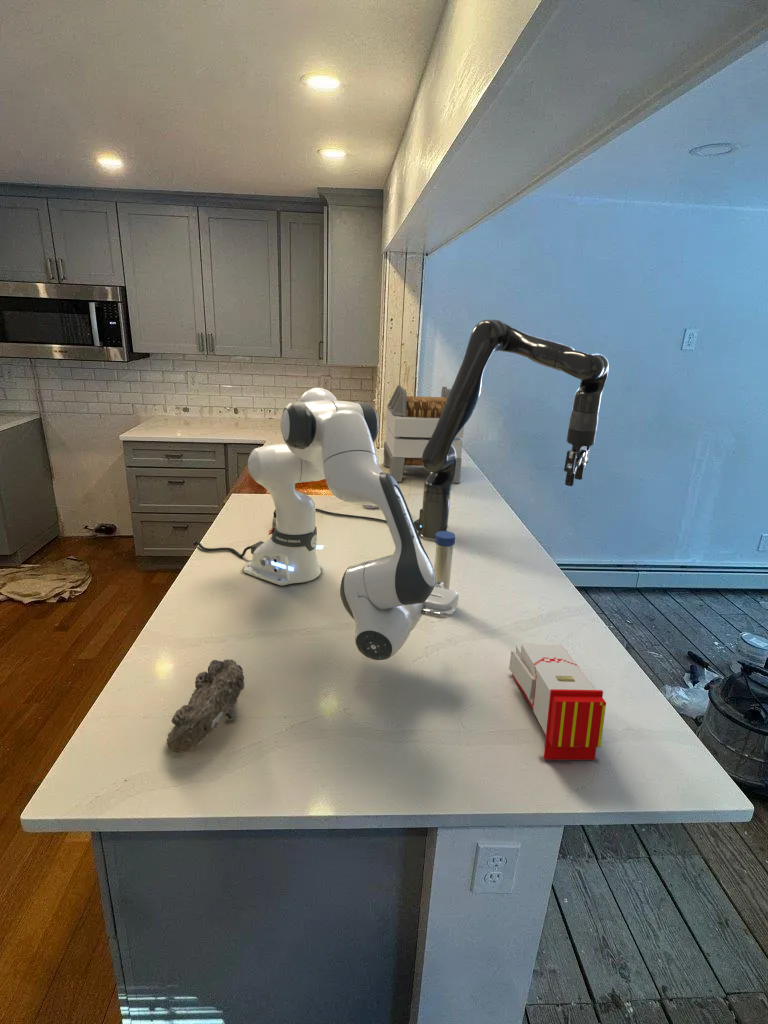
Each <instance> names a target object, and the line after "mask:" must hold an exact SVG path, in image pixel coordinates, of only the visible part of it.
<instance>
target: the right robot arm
mask: <svg viewBox="0 0 768 1024" xmlns="http://www.w3.org/2000/svg"><path fill="white" fill-rule="evenodd" d="M467 343H468V344H467V347H466V350H465V354H464V357H463V360H462V363H461V364H460V367H459V370H458V372H457V374H456V377H455V379H454V382H453V384H452V386H451V387H450V390H451V391H450V393H449V395H448V398H447V400H446V403H445V406H444V408H443V411H442V413H441V416H440V418H439V421H438V423H437V426H436V428H435V430H434V432H433V434H432V436H431V438H430V440H429V442H428V444H427V445H426V447H425V449H424V451H423V454H422V464H423V466H422V467H423V468H424V470H425V471H427V472H428V473H429V474H428V476H427V477H426V478H425V480H424V482H423V493H422V496H423V497H422V506H421V508H420V509H419V516H418V519H416V520H413V522H414V525H415V527H416V530H417V533H418V535H419V537H420V538H421V539H424V540H426V541H432V542H435V535H436V533H437V532H439V531H448V529H449V517H450V516H449V514H450V504H451V494H452V493H451V491H452V485H453V484H454V483H453V481H454V476H455V468H456V451H455V449H454V447H453V446H452V445H451V444H452V442H453V440H454V438H455V437H456V435H457V434H458V433H459V431H460V430H461V429H462V428H463V426H464V427H465V425H466V424H467V423H468V421H469V420H470V418H471V417H472V415H473V414H474V411H475V409H476V407H477V404H478V402H479V400H480V397H481V392H482V381H483V375H484V371H485V368H486V366H487V364H488V362H489V359H490V358H491V356H492V354H493V353H495V352H505V353H511V354H515V355H518V356H521V357H524V358H526V359H528V360H530V361H531V362H533V363H535V364H538V365H540V366H542V367H545V368H549V369H552V370H555V371H559V372H562V373H564V374H566V375H568V376H571V377H573V378H575V379H577V380H580V383H579V387H578V389H577V390H576V391H575V394H574V397H573V403H572V410H571V414H570V417H569V422H568V429H567V436H566V442H567V444H569V445H571V446H572V447H571V449H570V450H569V449H568V450H567V451H566V456H565V462H564V468H563V471H564V472H565V473H566V475H565V481H564V485H565V486H567V487H573V486H574V483H575V480H579V481H582V480H583V478H584V472H585V468H586V467H587V465H588V463H589V458H590V451H591V447H593V446H594V444H595V441H596V436H597V435H596V434H597V430H598V423H599V412H600V406H601V400H602V394H603V392H604V389H605V385H606V382H607V379H608V375H609V367H610V366H609V361H608V359H607V358H606V356H605V355H603V354H602V353H601V354H600V353H592V354H591V353H587V352H583V351H579V350H576V349H574V348H573V347H572V346H569V345H566V344H563V343H560V342H556V341H552V340H550V339H545V338H542V337H537V336H534V335H531V334H528V333H526V332H523V331H521V330H518V329H517V328H514V326H513V327H512V326H510V325H509V324H507V323H505V322H503V321H501V320H499V319H483V320H481V321H479V322H478V323H476V324H475V326H474V328H473V329H472V331H471V333H470V336H469V340H468V342H467ZM316 511H317V512H320V513H324V514H327V515H333V516H339V517H347V518H354V519H362V520H363V519H364V520H370V521H371V520H372V521H378V522H382V523H385V524H387V521H386V519H382V518H376V517H371V516H364V515H363V516H362V515H354V514H345V513H338V512H333V511H327V510H323V509H320V508H316V507H315V512H316Z"/></svg>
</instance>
